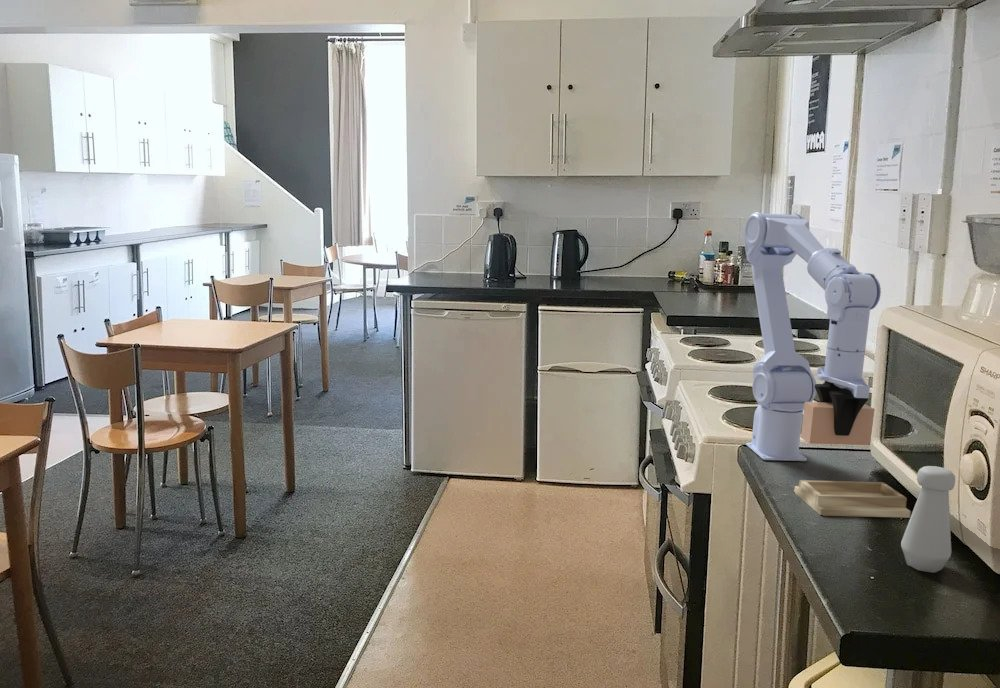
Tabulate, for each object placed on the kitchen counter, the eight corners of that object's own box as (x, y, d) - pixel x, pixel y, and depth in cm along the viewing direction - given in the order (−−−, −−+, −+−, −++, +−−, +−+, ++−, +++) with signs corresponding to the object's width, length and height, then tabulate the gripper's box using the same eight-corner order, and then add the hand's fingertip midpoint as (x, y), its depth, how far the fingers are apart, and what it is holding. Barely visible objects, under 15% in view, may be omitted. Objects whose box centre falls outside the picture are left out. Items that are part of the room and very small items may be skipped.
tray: (794, 492, 139) (795, 477, 139) (877, 494, 140) (879, 479, 139) (820, 515, 129) (822, 499, 129) (909, 517, 130) (911, 501, 130)
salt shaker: (897, 568, 112) (910, 470, 109) (900, 552, 117) (912, 458, 114) (948, 579, 109) (962, 479, 107) (949, 563, 114) (963, 467, 112)
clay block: (800, 437, 144) (804, 401, 143) (859, 439, 145) (864, 403, 144) (809, 443, 140) (813, 407, 139) (870, 445, 141) (874, 408, 140)
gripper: (803, 340, 147) (794, 419, 149) (841, 356, 132) (831, 443, 135) (844, 341, 147) (835, 420, 150) (886, 358, 133) (876, 444, 135)
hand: (836, 431), depth 142 cm, fingers closed on clay block, 3 cm apart
